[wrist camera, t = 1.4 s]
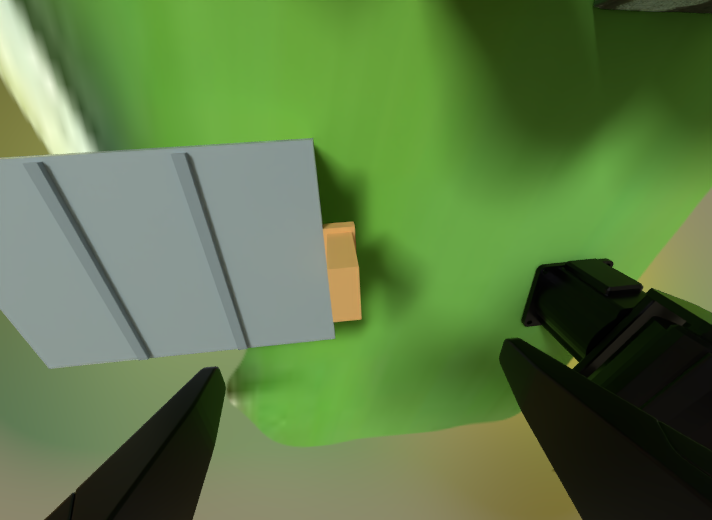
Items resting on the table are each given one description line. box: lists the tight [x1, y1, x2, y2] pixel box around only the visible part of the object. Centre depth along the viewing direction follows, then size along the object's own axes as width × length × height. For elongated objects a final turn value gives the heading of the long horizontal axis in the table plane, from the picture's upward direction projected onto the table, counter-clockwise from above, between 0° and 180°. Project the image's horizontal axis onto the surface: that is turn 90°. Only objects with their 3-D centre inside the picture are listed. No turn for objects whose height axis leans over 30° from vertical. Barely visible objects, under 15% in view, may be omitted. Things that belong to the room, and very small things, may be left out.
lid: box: [0, 138, 362, 369], centre depth 15 cm, size 13×21×5 cm, turn 93°
